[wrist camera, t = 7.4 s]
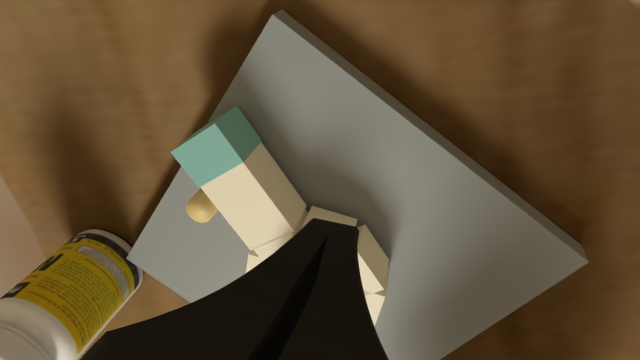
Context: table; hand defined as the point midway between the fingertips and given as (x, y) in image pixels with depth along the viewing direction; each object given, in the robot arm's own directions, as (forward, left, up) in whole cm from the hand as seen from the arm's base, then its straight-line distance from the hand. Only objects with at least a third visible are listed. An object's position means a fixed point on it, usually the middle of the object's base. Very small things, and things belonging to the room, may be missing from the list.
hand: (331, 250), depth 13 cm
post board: (-2, +6, -8) cm, 10 cm away
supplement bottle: (+7, +16, -8) cm, 20 cm away
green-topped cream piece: (+1, +5, -6) cm, 8 cm away
